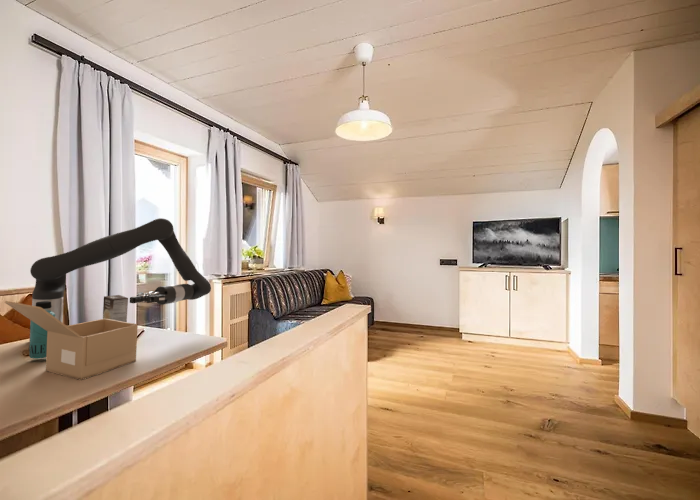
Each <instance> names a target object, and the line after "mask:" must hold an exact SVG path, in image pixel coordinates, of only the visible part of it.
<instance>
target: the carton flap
mask: <svg viewBox="0 0 700 500" xmlns="http://www.w3.org/2000/svg"><path fill="white" fill-rule="evenodd" d="M4 304H6V305H8V306H9V307H10V308H12V309H14V310H15V311H16V312H18V313H19V314H20V315H23V317H25V318H27V319H28V320H30V322H31V321H33V322H34V323H36V324H37V325H39V326H40V327H42V328H43V329H45V330H46V331H50V332H55V333H60V334H64V335H69V336H74V337H79V338H80V337H81V336H80V335H79V334H77V333H76V332H75V331H73V330H72V329H71V328H69V327H68V325H66V324H65V323H62V322H61V321H59V320H58V319H57V318H55V317H54V316H53V315H51V314H50V313H48V312H47V311H46V310H44V309H43V308H41V307H37V306H32V304H25V303H19V302H13V301H8V300H5V301H4Z"/></svg>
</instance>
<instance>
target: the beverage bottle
mask: <svg viewBox="0 0 700 500" xmlns="http://www.w3.org/2000/svg"><path fill="white" fill-rule="evenodd" d="M36 306H37V307H41V308H43V309H48V308H51V307H52V306H51V302H50V301H41V302H36ZM47 312H48V313H50V314H51V315H53V316H54V317H55V313H54V312H52V311H47ZM30 323H31V325H30V324H29V325H30V326H29V338H28V340H29V345H28V356H29V358H30V359H37V360H38V359H45V358H46V355H47V331H46V330H45V329H43V328H42V327H40V326H39V325H37V324H36V323H34V322H33V321H31V320H30Z"/></svg>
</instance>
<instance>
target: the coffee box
mask: <svg viewBox="0 0 700 500" xmlns="http://www.w3.org/2000/svg"><path fill="white" fill-rule="evenodd" d="M128 304H129V297H126V296H124V295H120V294H117V295H105V296H103V307H102V319H111V320H117V321H122V322H128Z"/></svg>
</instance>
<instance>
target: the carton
mask: <svg viewBox="0 0 700 500" xmlns="http://www.w3.org/2000/svg"><path fill="white" fill-rule="evenodd" d="M67 326H68V327H69V328H71V329H72V330H73V331H75V332H76V333H77V334H79V335H80V336H81V337H80V338H79V337H74V336H69V335H64V334H60V333H55V332H50V331H47V355H46V357H45V358H46V362H45V363H46V364H45V371H46V372H48V373H49V372H50V373H52V374H53V373H54V374H57V375H62V376H64V377H67V378H68V377H69V378H72V379H76V380H79V379H80V380H79V381H82V380H85V378H86V379H89V378H92V377H94V375H95V376H97V374H98V375H100V373H101V374H103V373H105V372H109V371H112V370H114V369H118V368H121V367H124V366H126V365H129V364H132V363H135V362H137V344H138V342H137V341H138V324H137V323H132V322H128V321H127V322H122V321H117V320H111V319H103V318H100V319H94V320H89V321H85V322H81V323H80V322H79V323H74V324H70V325H67ZM91 376H92V377H91ZM88 377H89V378H88Z"/></svg>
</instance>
